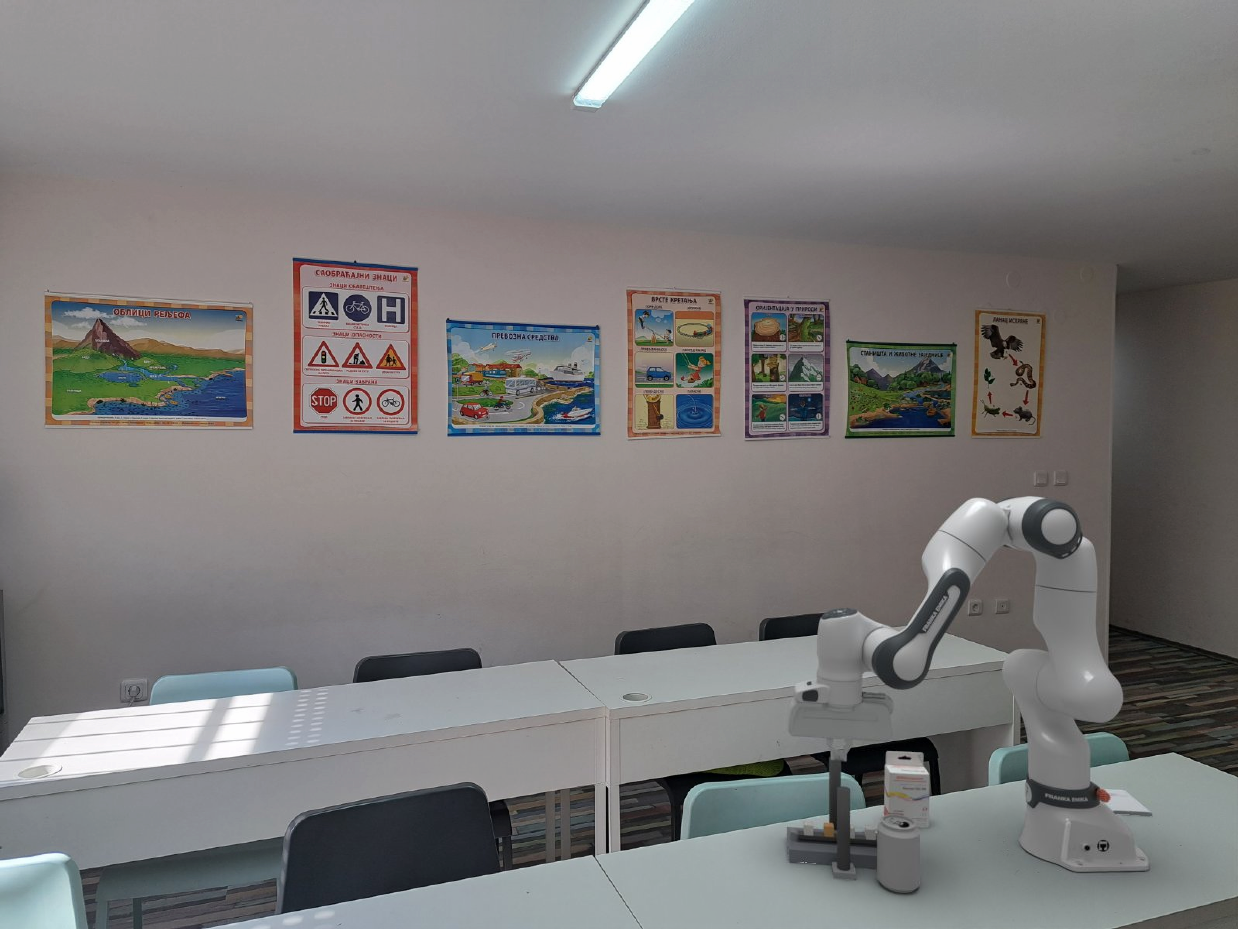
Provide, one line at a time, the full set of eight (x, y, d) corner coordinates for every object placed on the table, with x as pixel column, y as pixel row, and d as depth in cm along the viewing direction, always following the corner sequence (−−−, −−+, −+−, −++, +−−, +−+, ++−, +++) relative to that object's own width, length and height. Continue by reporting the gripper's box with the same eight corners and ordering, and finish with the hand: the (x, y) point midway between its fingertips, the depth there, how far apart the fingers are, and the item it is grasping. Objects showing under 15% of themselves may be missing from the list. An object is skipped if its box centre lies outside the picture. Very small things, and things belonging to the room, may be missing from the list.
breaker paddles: (879, 840, 163) (879, 826, 163) (881, 844, 161) (881, 830, 161) (797, 834, 165) (797, 820, 165) (798, 838, 163) (798, 824, 163)
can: (914, 899, 146) (914, 832, 146) (872, 888, 150) (872, 823, 150) (923, 881, 153) (923, 817, 153) (882, 870, 157) (882, 808, 156)
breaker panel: (886, 846, 167) (886, 826, 167) (895, 870, 157) (895, 849, 157) (786, 839, 170) (786, 819, 170) (789, 862, 160) (789, 841, 160)
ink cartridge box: (888, 827, 175) (888, 758, 175) (883, 817, 180) (883, 750, 180) (930, 828, 175) (930, 759, 174) (923, 818, 179) (923, 751, 179)
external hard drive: (1112, 817, 182) (1088, 794, 194) (1152, 819, 180) (1125, 796, 193) (1112, 810, 182) (1088, 787, 194) (1152, 812, 180) (1125, 789, 193)
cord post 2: (853, 869, 157) (853, 785, 157) (855, 880, 153) (855, 793, 153) (831, 868, 158) (831, 784, 158) (833, 878, 154) (833, 792, 154)
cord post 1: (843, 832, 173) (843, 755, 173) (845, 841, 169) (845, 762, 169) (824, 831, 173) (824, 754, 173) (826, 839, 169) (826, 761, 169)
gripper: (890, 689, 165) (890, 757, 165) (787, 684, 168) (786, 751, 168) (896, 698, 158) (895, 769, 158) (788, 692, 162) (787, 762, 162)
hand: (838, 760), depth 163 cm, fingers closed
